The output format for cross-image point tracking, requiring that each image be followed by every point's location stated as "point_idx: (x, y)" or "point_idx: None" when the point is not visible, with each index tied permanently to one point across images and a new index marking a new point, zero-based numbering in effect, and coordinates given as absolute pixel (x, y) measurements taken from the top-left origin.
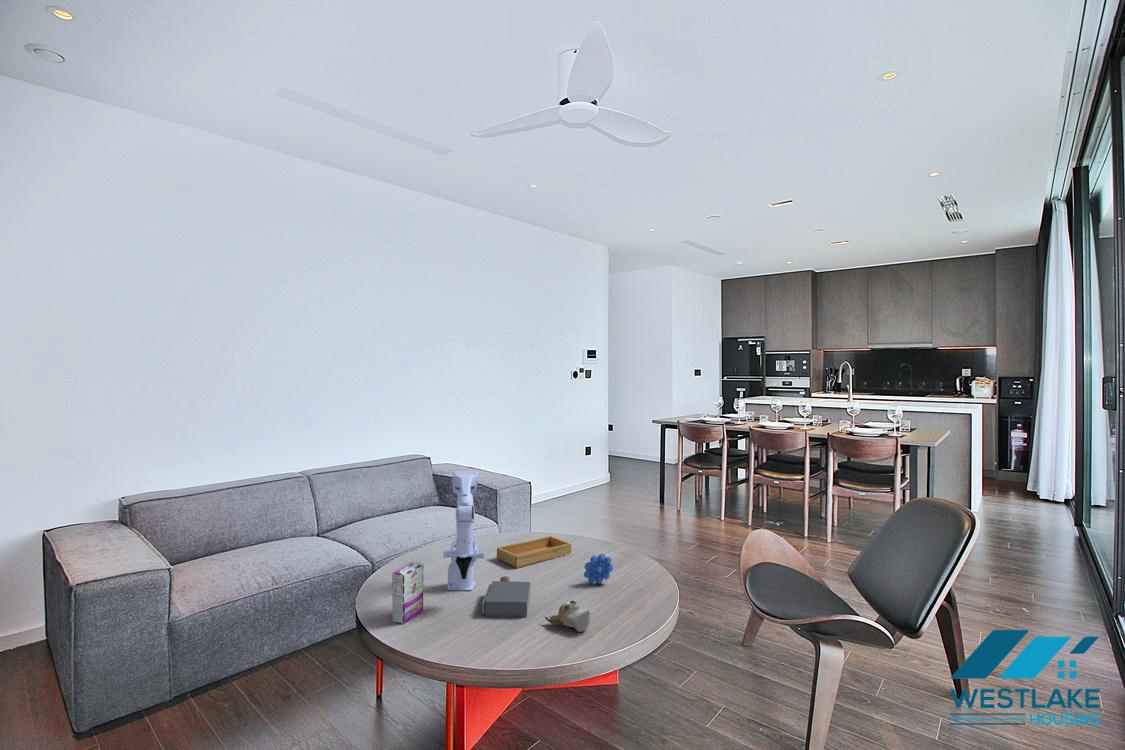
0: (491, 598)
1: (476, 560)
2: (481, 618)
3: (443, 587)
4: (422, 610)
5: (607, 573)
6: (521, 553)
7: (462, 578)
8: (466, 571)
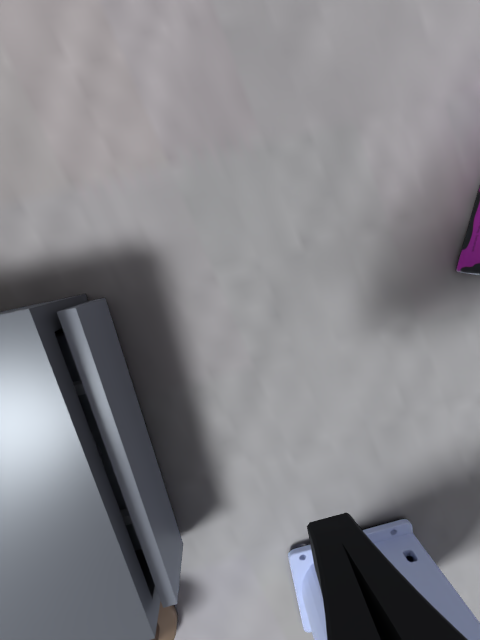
0: (10, 378)
1: None
2: (95, 261)
3: (432, 537)
4: (459, 263)
5: None
6: None
7: (341, 518)
8: (330, 635)
